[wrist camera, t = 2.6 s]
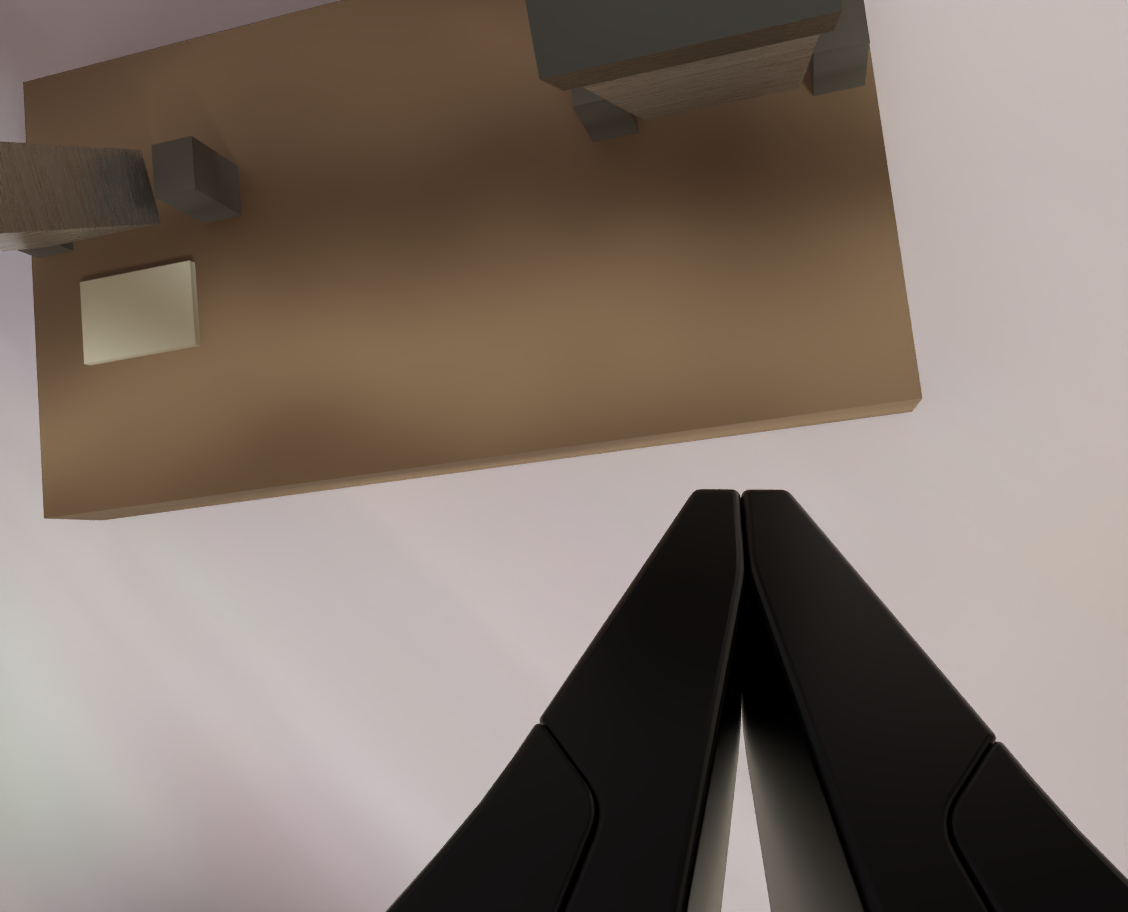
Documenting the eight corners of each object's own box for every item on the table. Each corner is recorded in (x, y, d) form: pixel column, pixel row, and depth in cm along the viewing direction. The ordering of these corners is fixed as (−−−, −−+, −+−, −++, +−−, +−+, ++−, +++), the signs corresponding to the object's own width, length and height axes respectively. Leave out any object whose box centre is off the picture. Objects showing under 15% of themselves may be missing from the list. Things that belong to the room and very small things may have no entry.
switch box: (912, 411, 21) (933, 383, 17) (102, 519, 26) (-17, 516, 22) (840, -71, 22) (846, -193, 19) (80, 115, 27) (-36, 48, 23)
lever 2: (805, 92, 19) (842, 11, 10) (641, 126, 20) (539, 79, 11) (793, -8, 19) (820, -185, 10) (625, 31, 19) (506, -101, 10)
